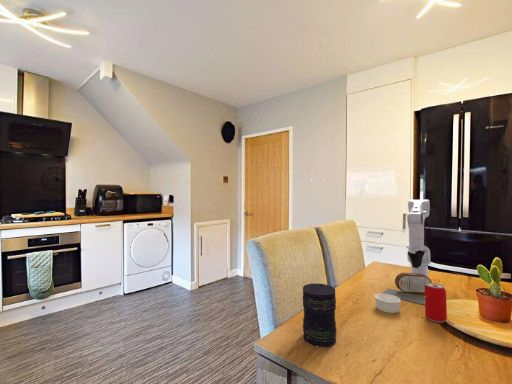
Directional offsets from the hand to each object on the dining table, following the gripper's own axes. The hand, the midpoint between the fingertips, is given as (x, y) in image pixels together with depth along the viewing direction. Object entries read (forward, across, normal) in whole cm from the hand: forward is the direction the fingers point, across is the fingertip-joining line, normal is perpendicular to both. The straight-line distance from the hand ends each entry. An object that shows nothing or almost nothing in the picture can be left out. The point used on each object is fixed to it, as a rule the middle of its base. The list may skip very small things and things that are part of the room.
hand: (416, 267), depth 119 cm
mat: (+11, +14, 0) cm, 17 cm away
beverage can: (+11, +30, +12) cm, 34 cm away
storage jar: (+12, +69, -11) cm, 71 cm away
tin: (+10, +6, 0) cm, 12 cm away
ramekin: (+12, +32, -3) cm, 34 cm away
